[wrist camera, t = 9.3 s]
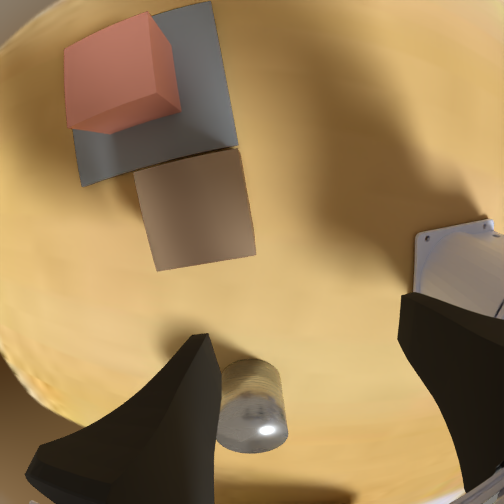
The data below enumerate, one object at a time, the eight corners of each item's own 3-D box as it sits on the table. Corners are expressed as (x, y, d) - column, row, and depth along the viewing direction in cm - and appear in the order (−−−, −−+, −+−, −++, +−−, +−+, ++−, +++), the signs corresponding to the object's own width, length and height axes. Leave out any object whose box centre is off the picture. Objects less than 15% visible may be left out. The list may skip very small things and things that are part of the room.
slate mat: (211, 4, 13) (210, 0, 12) (238, 145, 16) (238, 144, 16) (72, 54, 13) (68, 52, 13) (85, 186, 17) (81, 187, 16)
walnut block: (240, 153, 17) (237, 148, 12) (254, 230, 18) (256, 255, 13) (163, 169, 17) (133, 172, 12) (179, 244, 18) (156, 271, 13)
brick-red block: (171, 45, 14) (147, 11, 9) (181, 111, 15) (156, 92, 10) (103, 70, 14) (64, 48, 9) (110, 134, 15) (67, 128, 10)
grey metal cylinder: (276, 354, 21) (284, 411, 15) (283, 395, 22) (291, 448, 17) (214, 363, 21) (206, 419, 15) (228, 402, 23) (225, 455, 17)
